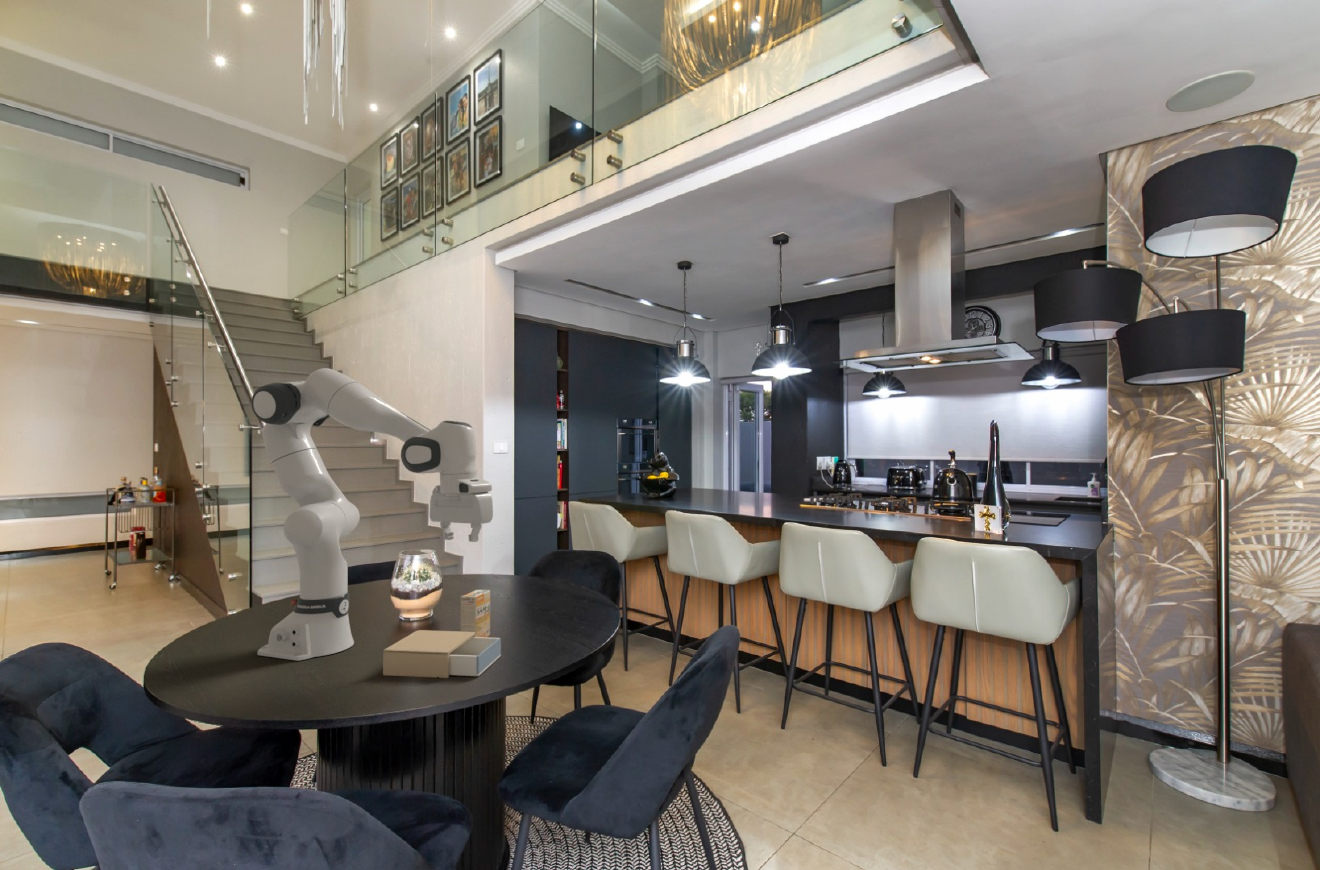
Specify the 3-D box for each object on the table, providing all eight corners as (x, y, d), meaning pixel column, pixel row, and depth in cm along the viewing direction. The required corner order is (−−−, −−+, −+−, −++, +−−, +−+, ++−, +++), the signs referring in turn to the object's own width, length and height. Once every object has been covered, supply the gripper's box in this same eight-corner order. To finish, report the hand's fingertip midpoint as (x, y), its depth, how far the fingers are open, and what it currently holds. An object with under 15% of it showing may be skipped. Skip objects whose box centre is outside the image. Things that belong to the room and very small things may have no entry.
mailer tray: (417, 673, 134) (417, 654, 134) (444, 653, 147) (444, 636, 147) (478, 676, 132) (478, 656, 132) (500, 655, 145) (500, 637, 145)
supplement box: (476, 646, 153) (476, 596, 154) (459, 644, 154) (459, 596, 154) (491, 636, 161) (491, 589, 162) (475, 635, 162) (475, 588, 163)
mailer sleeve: (383, 675, 134) (383, 650, 134) (417, 652, 149) (417, 629, 149) (447, 677, 132) (447, 652, 132) (476, 654, 147) (476, 631, 147)
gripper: (422, 486, 146) (424, 540, 145) (475, 486, 135) (477, 544, 134) (443, 484, 151) (445, 536, 151) (496, 484, 140) (498, 540, 140)
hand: (461, 540), depth 142 cm, fingers open, 8 cm apart
